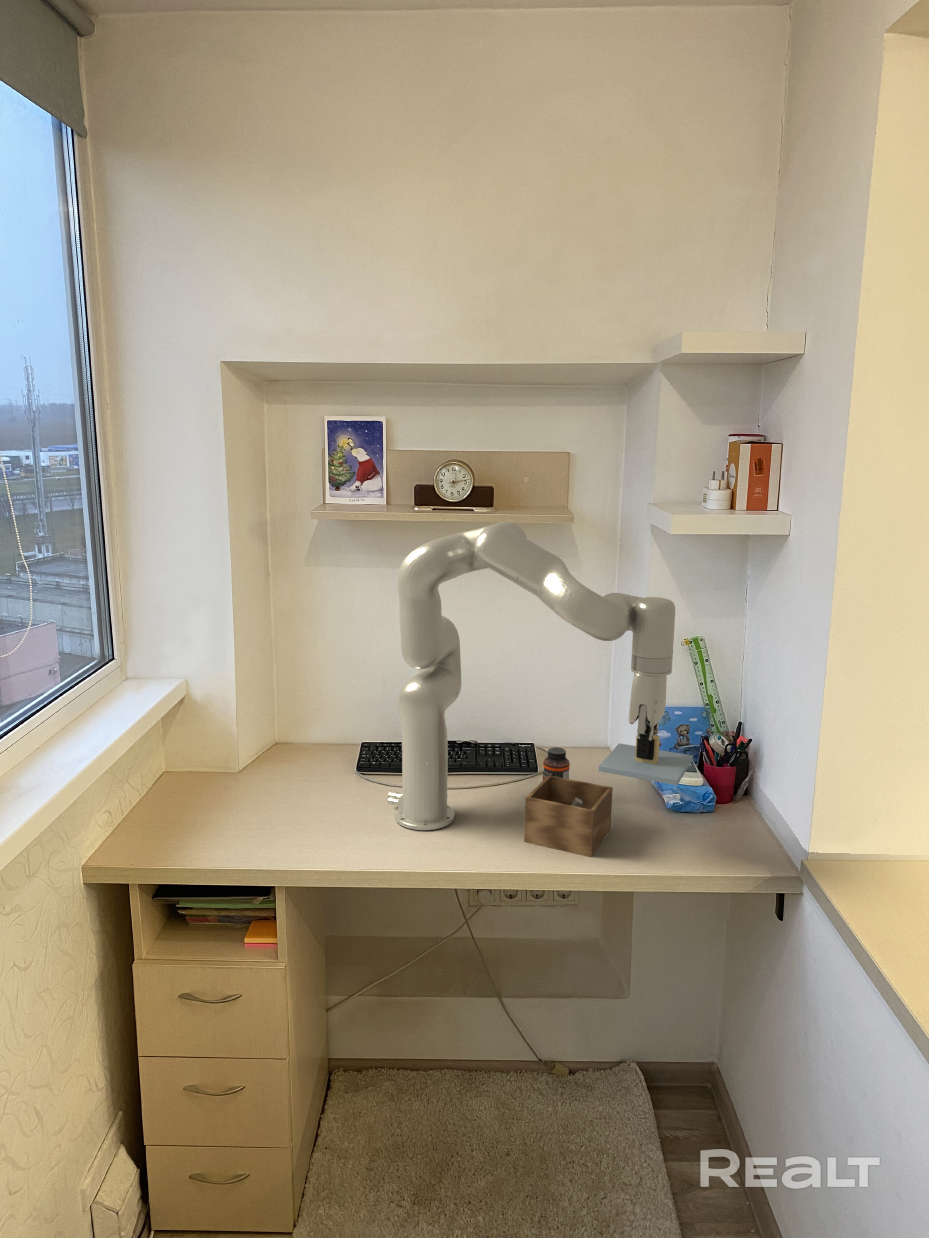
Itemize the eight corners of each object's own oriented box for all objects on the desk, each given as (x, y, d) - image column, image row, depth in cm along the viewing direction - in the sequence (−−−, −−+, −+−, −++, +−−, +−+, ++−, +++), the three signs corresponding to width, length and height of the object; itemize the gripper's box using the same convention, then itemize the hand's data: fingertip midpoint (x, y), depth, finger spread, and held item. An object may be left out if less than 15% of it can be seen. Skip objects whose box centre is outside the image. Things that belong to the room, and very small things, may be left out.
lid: (598, 771, 163) (599, 741, 162) (618, 747, 175) (620, 719, 174) (677, 785, 156) (679, 754, 155) (692, 760, 169) (694, 731, 167)
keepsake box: (524, 841, 173) (525, 797, 171) (547, 816, 185) (548, 775, 183) (591, 857, 167) (593, 811, 165) (610, 830, 179) (612, 787, 177)
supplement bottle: (537, 799, 194) (539, 751, 191) (547, 789, 199) (549, 743, 196) (562, 804, 191) (564, 756, 188) (572, 795, 196) (574, 748, 194)
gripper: (642, 652, 170) (638, 740, 174) (620, 671, 156) (616, 766, 160) (680, 656, 167) (675, 746, 171) (661, 676, 153) (656, 773, 157)
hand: (646, 755), depth 165 cm, fingers closed on lid
